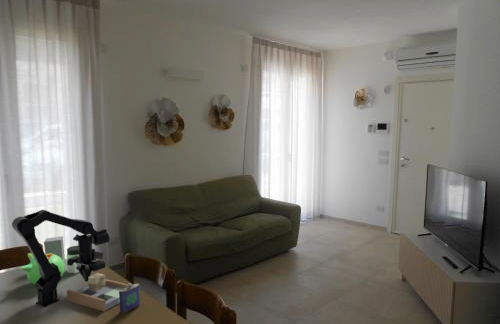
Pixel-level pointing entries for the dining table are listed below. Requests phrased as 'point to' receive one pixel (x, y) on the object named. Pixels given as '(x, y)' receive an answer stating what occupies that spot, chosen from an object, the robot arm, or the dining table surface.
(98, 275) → the block
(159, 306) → the dining table surface
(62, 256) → the skincare box
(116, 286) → the box
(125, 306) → the blue green box
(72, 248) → the jar
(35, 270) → the toy bird
